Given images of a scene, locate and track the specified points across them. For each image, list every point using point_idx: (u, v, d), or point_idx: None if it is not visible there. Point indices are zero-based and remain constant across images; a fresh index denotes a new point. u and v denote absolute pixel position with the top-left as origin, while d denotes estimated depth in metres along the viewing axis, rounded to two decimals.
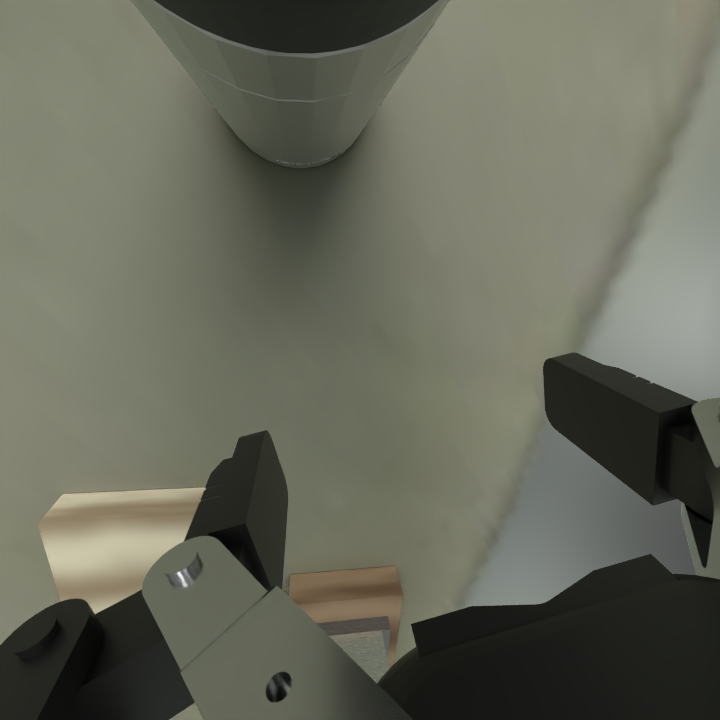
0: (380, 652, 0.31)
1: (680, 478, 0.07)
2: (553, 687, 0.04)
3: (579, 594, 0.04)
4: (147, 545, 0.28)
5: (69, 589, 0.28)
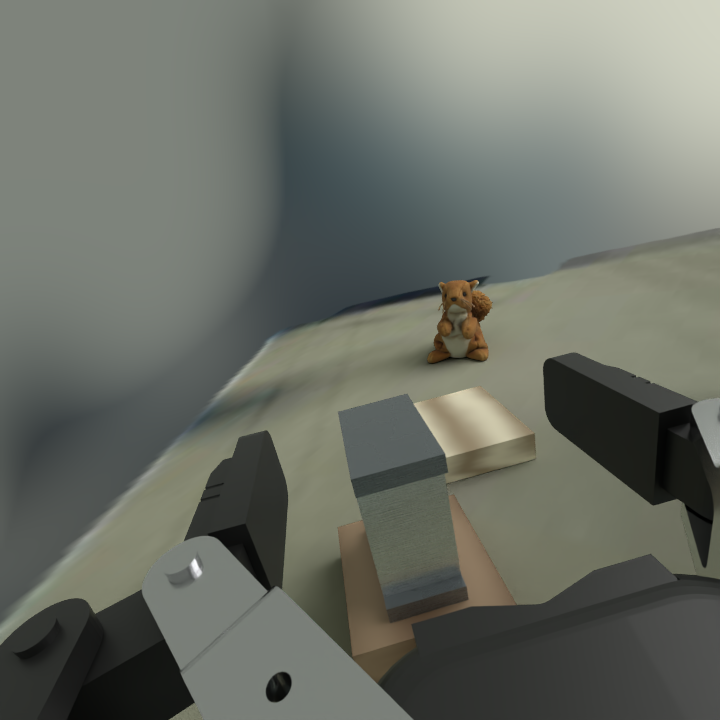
0: None
1: (680, 478, 0.07)
2: (553, 687, 0.04)
3: (579, 595, 0.04)
4: (484, 415, 0.41)
5: (434, 401, 0.47)
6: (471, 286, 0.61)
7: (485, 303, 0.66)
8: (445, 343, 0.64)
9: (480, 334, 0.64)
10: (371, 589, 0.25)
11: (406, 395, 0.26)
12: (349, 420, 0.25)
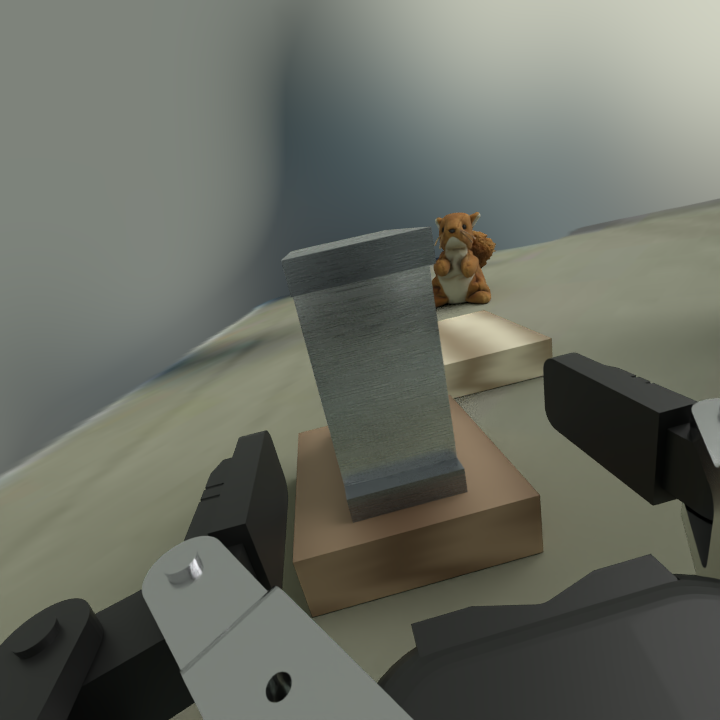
0: None
1: (680, 478, 0.07)
2: (553, 687, 0.04)
3: (579, 594, 0.04)
4: (489, 330, 0.34)
5: None
6: (472, 219, 0.55)
7: (487, 243, 0.59)
8: (443, 286, 0.57)
9: (482, 276, 0.57)
10: (332, 489, 0.18)
11: None
12: (302, 249, 0.18)
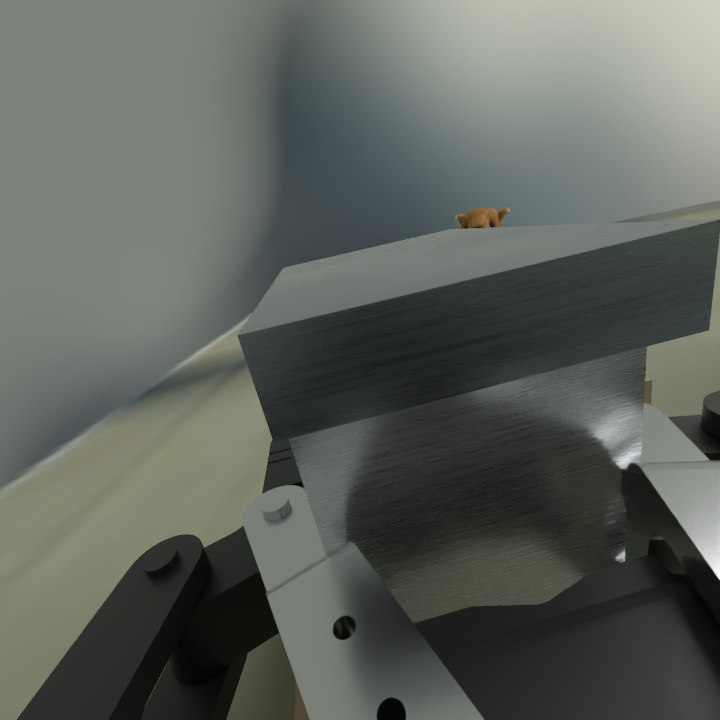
0: None
1: None
2: (553, 687, 0.04)
3: (579, 594, 0.04)
4: None
5: None
6: (500, 215, 0.46)
7: None
8: None
9: None
10: None
11: (450, 229, 0.11)
12: (305, 267, 0.09)
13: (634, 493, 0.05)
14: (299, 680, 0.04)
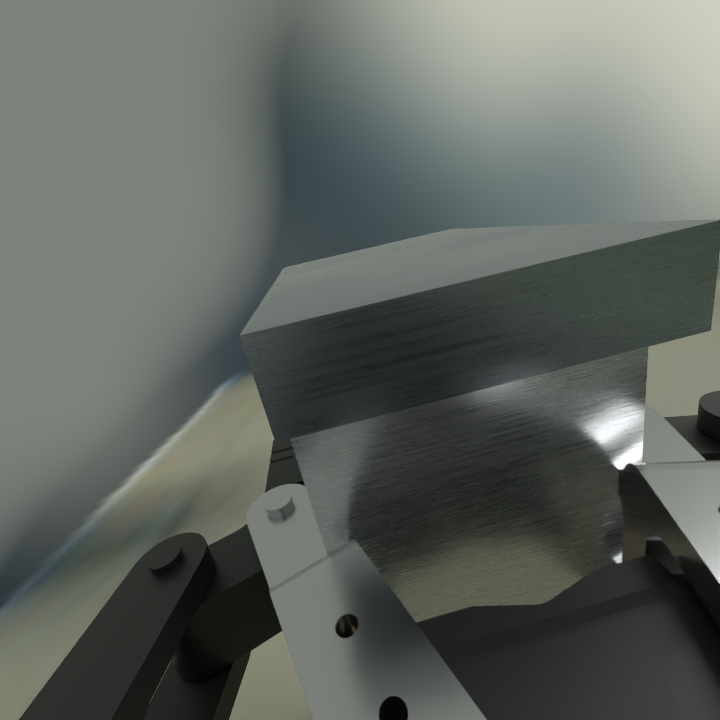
0: None
1: None
2: (553, 687, 0.04)
3: (579, 594, 0.04)
4: None
5: None
6: None
7: None
8: None
9: None
10: None
11: (451, 229, 0.11)
12: (305, 267, 0.09)
13: (631, 493, 0.05)
14: (301, 678, 0.04)
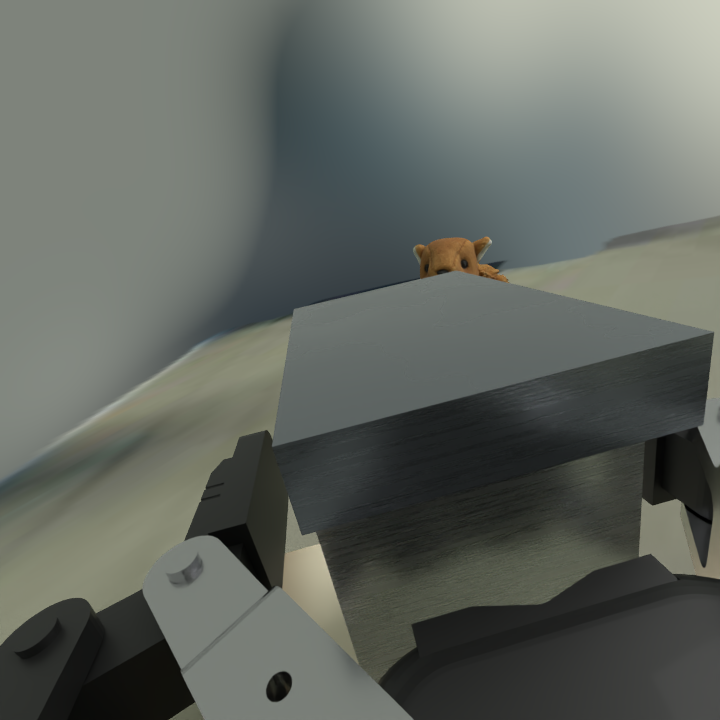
0: None
1: (679, 478, 0.07)
2: (553, 687, 0.04)
3: (579, 594, 0.04)
4: None
5: None
6: (477, 249, 0.31)
7: None
8: None
9: None
10: None
11: (456, 271, 0.11)
12: (316, 315, 0.10)
13: None
14: None
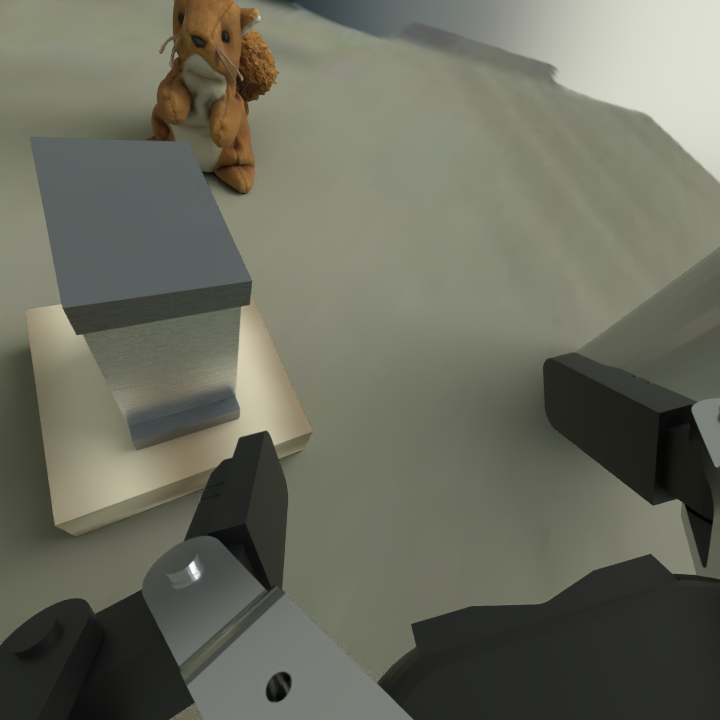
0: None
1: (680, 478, 0.07)
2: (553, 687, 0.04)
3: (580, 594, 0.04)
4: (237, 367, 0.22)
5: None
6: (243, 21, 0.28)
7: (265, 70, 0.34)
8: (175, 135, 0.32)
9: (245, 136, 0.35)
10: None
11: (186, 145, 0.15)
12: (59, 166, 0.12)
13: None
14: None
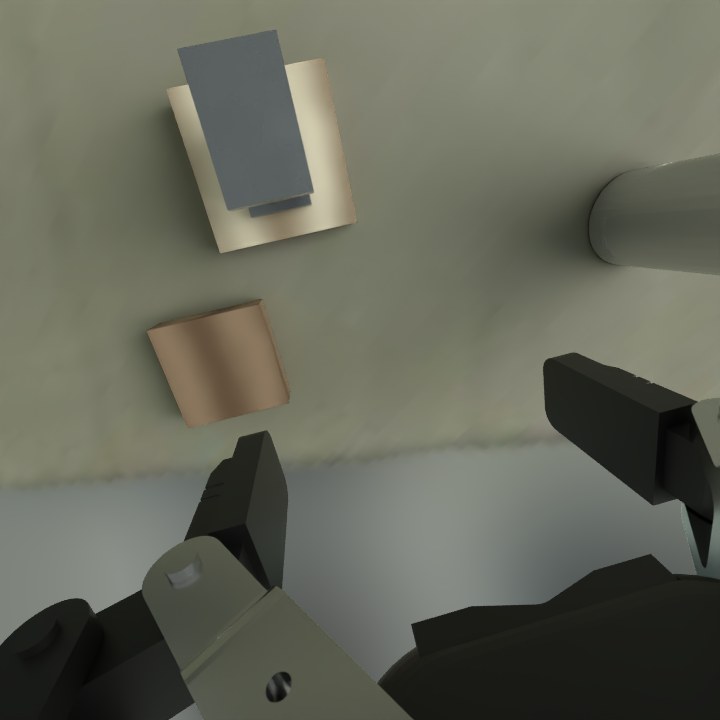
0: None
1: (680, 478, 0.07)
2: (553, 687, 0.04)
3: (579, 594, 0.04)
4: (312, 161, 0.31)
5: None
6: None
7: None
8: None
9: None
10: (192, 390, 0.35)
11: (275, 35, 0.19)
12: (201, 84, 0.19)
13: None
14: None
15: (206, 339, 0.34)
